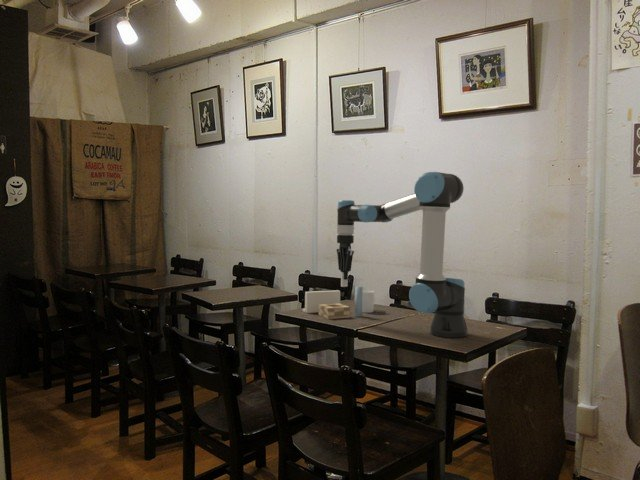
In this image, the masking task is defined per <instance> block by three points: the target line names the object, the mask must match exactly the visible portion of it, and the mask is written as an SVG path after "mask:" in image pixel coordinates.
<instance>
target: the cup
mask: <svg viewBox="0 0 640 480" xmlns="http://www.w3.org/2000/svg"><path fill="white" fill-rule="evenodd" d="M374 309H375V291H374V290H368V289H363V293H362V314H370V313H374Z"/></svg>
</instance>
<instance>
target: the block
mask: <svg viewBox="0 0 640 480" xmlns="http://www.w3.org/2000/svg"><path fill="white" fill-rule="evenodd" d="M350 308H351V306H348V305H345V304H342V303H341V302H340V303H335V304H319V312H318V316H321V317H323V318H324V319H328V320H333V319H335V320H336V319H346V318H347V319H348V318H351V317H350V315H351V313H350V312H351V311H350V310H351V309H350Z"/></svg>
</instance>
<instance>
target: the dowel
mask: <svg viewBox="0 0 640 480" xmlns="http://www.w3.org/2000/svg"><path fill="white" fill-rule="evenodd" d="M354 290H355V294H354V297H355V298H354V317H355V318H362V317H363V313H362V293H363V290H364V289H363V286H361V285H360V286H359V285H358V286H355V289H354Z"/></svg>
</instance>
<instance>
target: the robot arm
mask: <svg viewBox="0 0 640 480" xmlns="http://www.w3.org/2000/svg"><path fill="white" fill-rule="evenodd" d="M413 189H414V190H413V191H414V193H412V194H407V195H405V196H403V197H400V198H396V199H394V200H392V201H388V202H385V203H383V204H380V205H378V204H377V205H375V204H355V201H354V200H349V199H346V200H344V199H343V200H341V199H339V201H338V202H337V209H336V210H337V211H336V212H337V225H336V233H337V235H336V243H337V244H339V248H337V249H336V255H337V264H338V265H337V266H338V271H340V287H342V288H346V287H348V286H349V285H348V283H349V281H348V280H349V273H350V272H351V271H352V263H353V258H354V257H353V256H354V253H355V251H354V250H353V249H352V244H354V237H355V236H354V235H353V234H354V233H355V232H354V230H355V223H357V222H358V223H388V222H389V223H390V222H392V221H393V220H394V219H396V218H399V217H401V216H402V217H403V216H405V215H408V214H411V213H415V212H419V211H422V224H421V227H422V228H421V243H420V245H421V246H420V265H419V266H420V267H419V273H418V274H417V275H416V276H415V282H414V283H415V284H413V285H412V287H410V289H409V291H408V292H409V293H408V298H409V301H410V304H411V306H412V307H413V308H414V309H415V311H417V312H419V313H421V314H432V313H434V314H433V318H432V320H431V324H430V326H429V334H431V335H433V336H436V337H441V338H450V339H451V338H452V339H454V338H458V339H459V338H464V337H465V338H466V337H468V331H469V330H468V326H467V322H466V320H465V293H466V292H465V291H466V288H465V285H466V284H465V281H464V279H461V278H454V277H453V278H452V277H445V275H444V274H443V271H444V252H445V251H444V250H445V249H444V248H445V236H446V235H445V234H446V233H445V232H446V215H447V214H446V213H447V212H448V211H449V210H450V208H451V204H453V203H456V202H457V201H459V200H460V199H461V197H462V196H463V194H464V193H463V192H464V190H465V189H464V183H463V181H462V179H461V178H460V177H459V176H457V175H455V174H453V173H445V172H439V171H427V172H424V173H422V174H421V175H420V176H419V177H418V178H417V179H416V182H415V184H414V188H413Z"/></svg>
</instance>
